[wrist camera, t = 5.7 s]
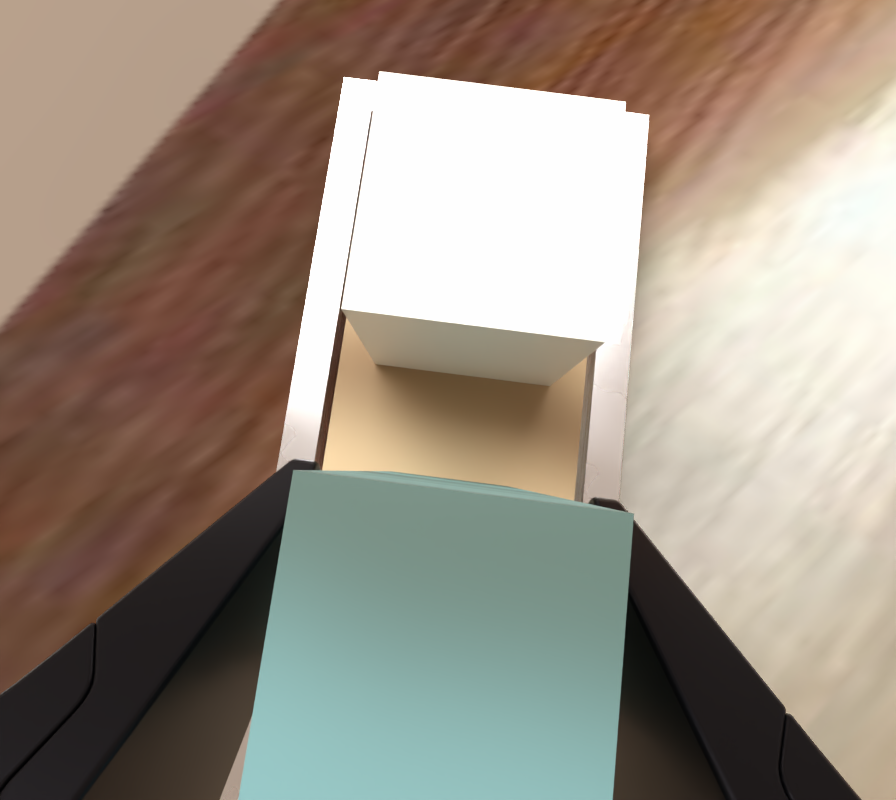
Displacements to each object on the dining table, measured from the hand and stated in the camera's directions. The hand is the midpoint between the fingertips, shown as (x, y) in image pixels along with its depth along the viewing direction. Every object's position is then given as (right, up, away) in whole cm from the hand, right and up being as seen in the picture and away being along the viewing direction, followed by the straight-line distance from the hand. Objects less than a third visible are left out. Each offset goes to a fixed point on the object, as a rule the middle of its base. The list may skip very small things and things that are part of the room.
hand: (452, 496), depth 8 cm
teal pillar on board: (0, +1, +7) cm, 7 cm away
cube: (+1, +5, +7) cm, 8 cm away
